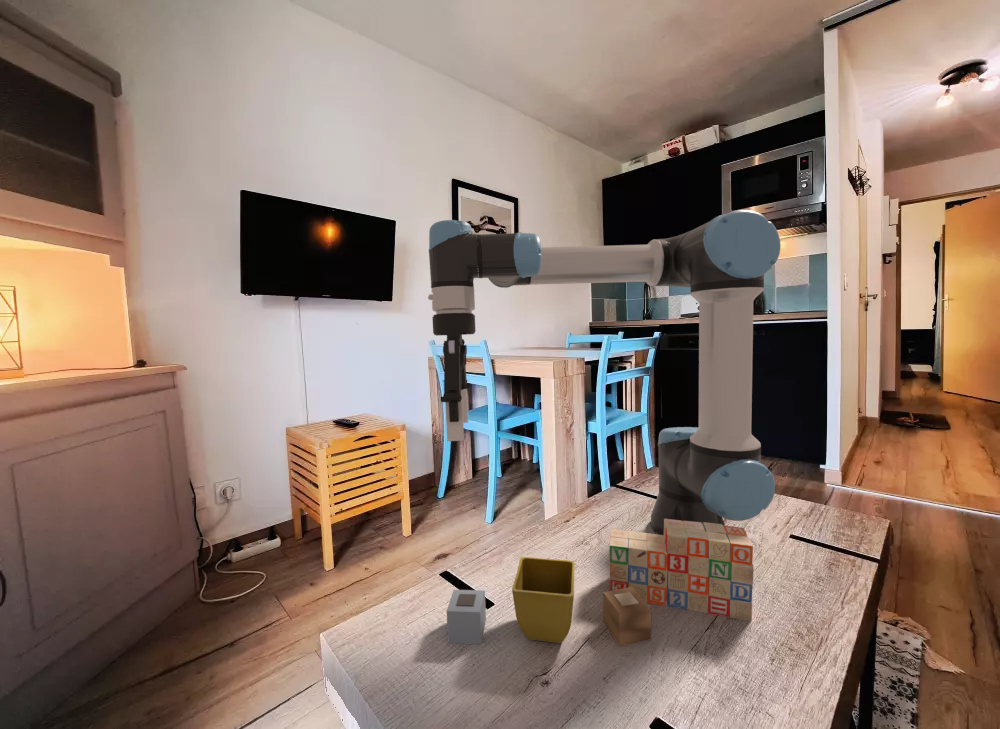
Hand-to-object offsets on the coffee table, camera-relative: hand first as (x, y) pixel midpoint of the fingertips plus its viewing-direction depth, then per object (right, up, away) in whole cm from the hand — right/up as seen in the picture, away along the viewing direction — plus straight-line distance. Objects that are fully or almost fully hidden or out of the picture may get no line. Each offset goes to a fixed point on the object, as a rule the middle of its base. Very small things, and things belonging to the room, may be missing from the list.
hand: (458, 430), depth 74 cm
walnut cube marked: (+27, -28, -12) cm, 41 cm away
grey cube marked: (+2, -29, -11) cm, 31 cm away
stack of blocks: (+37, -28, -5) cm, 47 cm away
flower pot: (+15, -29, -12) cm, 34 cm away
